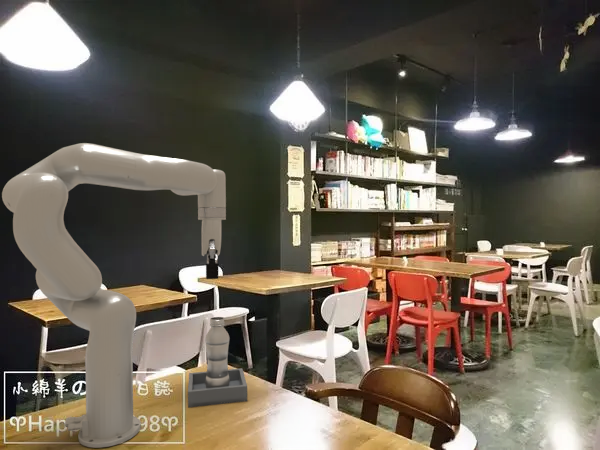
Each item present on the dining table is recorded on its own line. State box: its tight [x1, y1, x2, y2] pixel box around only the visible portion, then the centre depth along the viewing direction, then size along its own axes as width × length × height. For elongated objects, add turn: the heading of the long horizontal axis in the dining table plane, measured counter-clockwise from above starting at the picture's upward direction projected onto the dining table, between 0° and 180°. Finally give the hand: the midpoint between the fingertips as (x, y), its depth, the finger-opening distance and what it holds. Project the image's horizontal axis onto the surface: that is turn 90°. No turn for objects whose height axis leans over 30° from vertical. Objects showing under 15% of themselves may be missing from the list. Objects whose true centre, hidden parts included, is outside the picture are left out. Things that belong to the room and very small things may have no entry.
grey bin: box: [187, 368, 248, 408], centre depth 112 cm, size 15×13×4 cm
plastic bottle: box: [204, 316, 230, 389], centre depth 110 cm, size 6×7×20 cm
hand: (212, 276), depth 114 cm, fingers open, 9 cm apart
